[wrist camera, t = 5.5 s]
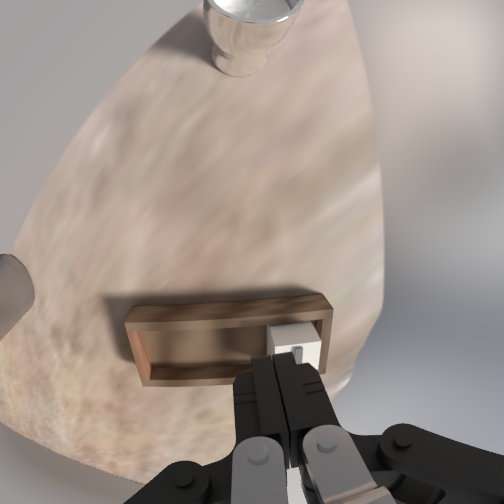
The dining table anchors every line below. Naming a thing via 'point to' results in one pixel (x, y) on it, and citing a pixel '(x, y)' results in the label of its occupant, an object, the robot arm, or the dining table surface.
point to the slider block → (295, 341)
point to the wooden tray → (215, 337)
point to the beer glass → (247, 31)
